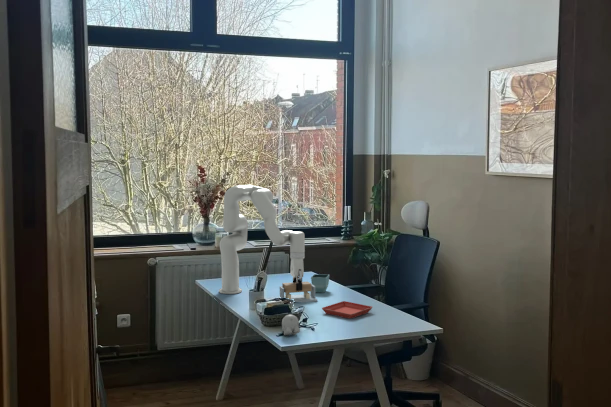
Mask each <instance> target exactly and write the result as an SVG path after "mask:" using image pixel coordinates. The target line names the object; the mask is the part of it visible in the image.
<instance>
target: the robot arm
mask: <svg viewBox="0 0 611 407" xmlns="http://www.w3.org/2000/svg"><path fill="white" fill-rule="evenodd" d="M223 196H224V197H223V220H222V221H223V222H222V227H223V230H224V231H225V232H226V233H230V234H227V235H224V236H222V238H221V239H220V241H219V250H220V257H221V259H220V260H221V262H220V263H221V288H220V289H218V292H219V293H220V294H224V295H225V294H226V295H234V294H240V293H242V291H243V289H242V288H240V262H239V261H240V259H239V255H238V252H237V251H241V250H243V249H244V248H245V247H246V246H247V241H248V228H249V223H248V219H247V218H246V216H245V215H243V214H240V211H241V210H240V209H241V208H240V204H239V202H243V201H250V202H252V204H253V205H254V208H255V209H256V211H257V212H258V213H259V215H260V217H261V218H262V220H263V227H264V232H265V234H266V235H267V236H268V238H269V240H270V241H271V243H272V244H273V245H274V246H278V247H282V246H286V245H289V248H290V249H289V252H290V255H289V258H290V270H289V271H290V273H289V274H290V276H291V277H292V283H293V282H297V283H296V291H302V282H303V278H304V274H305V271H304V267H305V266H304V259H305V257H306V256H305V252H306V250H305V249H306V248H305V246H306V245H305V243H306V242H305V233H304V232H303V231H300V230H299V231H293V230H290V229H289V230H288V229H285V230H280V228H279V227H278V225H277V223H276V216H277V215H278V211H277V209H276V208H275V205H274V204H273V203H272V202H273V200H274V194H273V192H272V191H271V190H270V189H268V188H264V187H262V186H256V185H252V184H239V185H234V186H232V187H229V188H228V189H227V190H226V191H225V193H224V195H223ZM231 233H232V234H231Z"/></svg>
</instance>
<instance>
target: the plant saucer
mask: <svg viewBox="0 0 611 407" xmlns="http://www.w3.org/2000/svg"><path fill="white" fill-rule="evenodd" d="M372 309H373V306H372V305H371V306H370V305H366V304H360V303H355V302H350V301H346V300H343V301H340V302H337V303H336V302H335V303H333V304H330V305H327V306H323V307H321V310H322V311H323V312H325V313H326V315H332V316H336V317H341V318H345V319H350V320H351V319H353V318H356V317H360V316H362V315H366V314H368V313H369V312H370V311H371V310H372ZM325 313H324V314H325Z"/></svg>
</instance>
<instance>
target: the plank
mask: <svg viewBox="0 0 611 407" xmlns="http://www.w3.org/2000/svg"><path fill="white" fill-rule="evenodd" d="M296 283H297V282H293V281H292V282H282V284H281V286H282V287H283V288H284V294H285V293H290V294H292V293H293V294H294V293H304V292H308V293H309V292H310V291H311V284H312V282H310V281H302V291H296Z"/></svg>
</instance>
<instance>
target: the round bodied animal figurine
mask: <svg viewBox="0 0 611 407" xmlns="http://www.w3.org/2000/svg"><path fill="white" fill-rule="evenodd" d="M299 323H300V322H299V318H298V317H297V316H296V315H294V314H286V315H285V316H284V317H283V318H282V320H281V327H282V328H281V329H282V331H283V335H284V336H290V335H293V336H294V335H297V334H298V333H300V332H301V331H300V327H299V326H300V325H299Z"/></svg>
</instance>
